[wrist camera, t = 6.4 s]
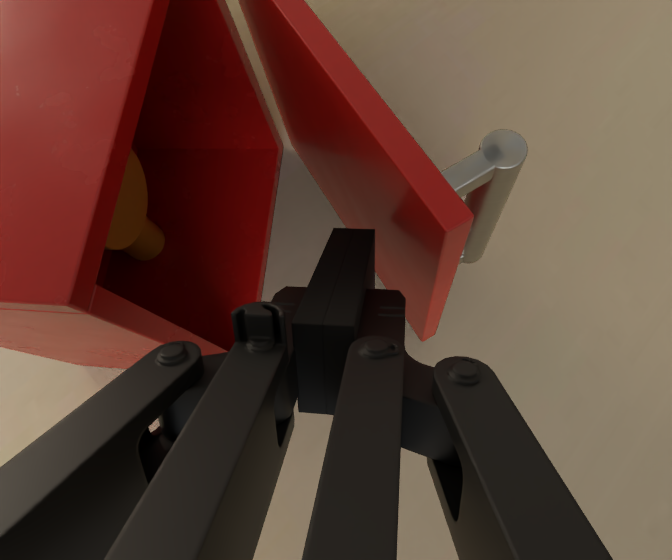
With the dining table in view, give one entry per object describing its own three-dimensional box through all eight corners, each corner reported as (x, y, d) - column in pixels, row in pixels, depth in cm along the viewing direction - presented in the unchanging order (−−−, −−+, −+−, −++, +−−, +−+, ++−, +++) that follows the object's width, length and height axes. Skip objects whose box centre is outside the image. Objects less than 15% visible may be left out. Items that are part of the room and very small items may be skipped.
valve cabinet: (283, 145, 28) (182, -109, 15) (249, 378, 24) (67, 305, 11) (136, 145, 30) (-73, -87, 17) (79, 365, 25) (-265, 286, 12)
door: (355, 106, 28) (321, -152, 16) (498, 296, 23) (609, 136, 11) (290, 143, 28) (204, -89, 15) (421, 342, 23) (446, 232, 11)
